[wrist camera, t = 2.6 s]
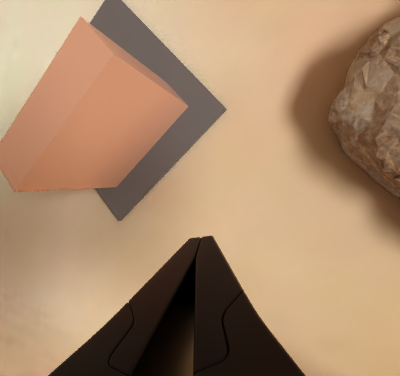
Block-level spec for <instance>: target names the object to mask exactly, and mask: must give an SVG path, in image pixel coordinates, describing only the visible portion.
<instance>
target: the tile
mask: <svg viewBox="0 0 400 376" xmlns="http://www.w3.org/2000/svg"><path fill="white" fill-rule="evenodd" d="M187 108H188V105H187V104H186V103H185V102H184V101H183V100H182V99H181V98H180V96H179V95H178V94H177V93H176V92H175V91H174V90H173V89H172V88H171V87H170V86H169V84H168V83H167V82H165V81H164V80H163V79H161V78H160V77H159V76H158V75H156V74H155V73H154V72H152V71H151V70H150V69H148V68H147V67H146V66H145V65H143V64H142V63H141V62H139V61H138V60H137V59H135V58H134V57H133V56H132V55H130V54H129V53H128V52H126V51H125V50H124V49H122V48H121V47H120V46H118V45H117V44H116V43H115V42H113V41H112V40H111V39H109V38H108V37H107V36H105V35H104V34H103V33H102V32H100V31H99V30H98V29H96V28H95V27H94V26H92V25H91V24H90V23H89V22H87V21H86V20H85V19H83V18H82V17H81V16H80V18H79V20H78V21H77V23H76V24H75V26H74V27H73V29H72V31H71V32H70V34H69V35H68V37H67V38H66V40H65V42H64V43H63V45H62V46H61V48H60V49H59V51H58V53H57V54H56V56H55V57H54V59H53V60H52V62H51V64H50V65H49V67H48V68H47V70H46V71H45V73H44V75H43V76H42V78H41V79H40V81H39V82H38V84H37V86H36V87H35V89H34V90H33V92H32V93H31V95H30V97H29V98H28V100H27V101H26V103H25V105H24V106H23V108H22V109H21V111H20V112H19V114H18V116H17V117H16V119H15V120H14V122H13V123H12V125H11V127H10V128H9V130H8V131H7V133H6V134H5V136H4V138H3V139H2V141H1V142H0V169H1V171H2V173H3V174H4V176H5V177H6V179H7V181H8V182H9V184H10V185H11V187H12V189H13V190H14V192H23V191H45V190H68V189H90V188H113V187H117V186H118V185H119V184H120V183H121V182H122V181H123V179H124V178H125V177H126V176H127V175H128V174H129V173H130V172H131V170H132V169H133V168H134V167H135V166H136V165H137V164H138V163H139V161H140V160H141V159H142V158H143V157H144V156H145V155H146V154H147V152H148V151H149V150H150V149H151V148H152V147H153V146H154V145H155V143H156V142H157V141H158V140H159V139H160V138H161V137H162V136H163V134H164V133H165V132H166V131H167V130H168V129H169V128H170V127H171V126H172V124H173V123H174V122H175V121H176V120H177V119H178V118H179V117H180V115H181V114H182V113H183V112H184V111H185V110H186V109H187Z"/></svg>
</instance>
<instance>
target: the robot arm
mask: <svg viewBox="0 0 400 376" xmlns="http://www.w3.org/2000/svg"><path fill="white" fill-rule="evenodd" d="M48 376H305V374H304V373H303V372H302V371H301V370H300V368H299V367H298V366H297V364H296V363H295V362H294V361H293V359H292V358H291V357H290V356H289V354H288V353H287V352H286V351H285V349H284V348H283V347H282V345H281V344H280V343H279V342H278V340H277V339H276V338H275V337H274V335H273V334H272V333H271V332H270V330H269V329H268V328H267V326H266V325H265V323H264V322H263V321H262V319H261V318H260V317H259V315H258V314H257V312H256V310H255V309H254V307H253V306H252V304H251V302H250V301H249V299H248V297H247V296H246V294H245V293H244V290H243V289H242V287H241V285H240V283H239V282H238V280H237V278H236V276H235V275H234V273H233V271H232V269H231V267H230V266H229V264H228V262H227V260H226V259H225V257H224V255H223V253H222V252H221V250H220V248H219V246H218V244H217V243H216V241H215V239H214V237H213V236H205V237H202V238H200V237H198V238H190V239H189V240H188V241H187V242H186V243H185V244H184V245H183V246H182V247H181V248H180V249H179V250H178V251H177V252H176V253H175V254H174V255H173V256H172V257H171V258H170V259H169V260H168V261H167V262H166V263H165V264H164V265H163V266H162V268H161V269H160V270H159V271H158V272H157V273H156V274H155V275H154V276H153V277H152V278H151V279H150V280H149V281H148V282H147V283H146V284H145V285H144V286H143V287H142V288H141V289H140V290H139V291H138V292H137V293H136V294H135V295H134V296H133V297H132V298H131V299H130V300H129V303H126V304H125V305H124V306H123V307H122V308H121V309H120V311H119V312H118V313H117V314H115V315H114V316H113V317H112V318H111V319H110V320H109V321H108V322H107V323H106V324H105V325H104V326H103V327H102V328H101V329H100V330H99V331H98V332H97V333H96V334H94V335H93V336H92V337H91V338H90V339H89V340H88V341H87V342H86V343H85V344H83V345H82V346H81V347H80V348H79V349H78V350H77V351H75V352H74V353H73V354H72V355H71V356H70V357H69V358H68V359H66V360H65V361H64V362H63V363H62V364H61V365H60V366H59V367H57V368H56V369H55V370H54V371H53V372H52V373H51V374H49V375H48Z"/></svg>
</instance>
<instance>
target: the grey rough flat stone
mask: <svg viewBox="0 0 400 376" xmlns="http://www.w3.org/2000/svg"><path fill="white" fill-rule="evenodd" d="M328 122H329V123H331V124H332V129H333V130H334V132H335V133H336V135H337V137H338V140H339V142H340V145H341V147H342V150H343V151H344V152H345V154H346V155H347V156H348V157H349V158H350V159H351V160H352V161H353V162H354V163H355V164H357V165H358V166H359V167H361V168H362V169H363V170H365V171H366V172H367V173H368V174H369V175H370V176H371V177H372V178H373V179H374V180H375V181H376V182H377V183H379V184H380V185H381V186H382V187H384V188H385V189H386V190H388V191H389V192H390V193H392V194H393V195H394V196H395V197H398V198H400V16H399V17H397V18H394V19H392V20H389V21H387V22H385V23H384V24H383V25H382V26H381V27H379V28H378V29H377V30H376V31H375V32H374V33H373V34H372V35H371V36H370V37H369V38H368V39H367V41H366V42H365V43H364V44H363V45H362V46H361V47H360V49H359V50H358V51H357V55H356V57H355V59H354V61H353V62H352V64H351V66H350V68H349V70H348V71H347V76H346V80H345V85H344V89H343V90H341V91H340V92H339V94H338V95H337V97H336V98H335V99H334V101H333V102H332V105H331V108H330V111H329V116H328Z"/></svg>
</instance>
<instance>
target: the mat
mask: <svg viewBox="0 0 400 376" xmlns="http://www.w3.org/2000/svg"><path fill="white" fill-rule="evenodd" d="M90 24H91V25H92V26H94V27H95V28H96V29H98V30H99V31H100V32H102V33H103V34H104V35H105V36H107V37H108V38H109V39H111V40H112V41H113V42H115V43H116V44H117V45H118V46H120V47H121V48H122V49H124V50H125V51H126V52H128V53H129V54H130V55H132V56H133V57H134V58H135V59H137V60H138V61H139V62H141V63H142V64H143V65H145V66H146V67H147V68H148V69H150V70H151V71H152V72H154V73H155V74H156V75H158V76H159V77H160V78H161V79H163V80H164V81H165V82H167V83H168V84H169V86H170V87H171V88H172V89H173V90H174V91H175V92H176V93H177V94H178V95H179V96H180V98H181V99H182V100H183V101H184V102H185V103H186V104H187V105H188V108H187V109H186V110H185V111H184V112H183V113H182V114H181V115H180V117H179V118H178V119H177V120H176V121H175V122H174V123H173V124H172V126H171V127H170V128H169V129H168V130H167V131H166V132H165V133H164V134H163V136H162V137H161V138H160V139H159V140H158V141H157V142H156V143H155V145H154V146H153V147H152V148H151V149H150V150H149V151H148V152H147V154H146V155H145V156H144V157H143V158H142V159H141V160H140V161H139V163H138V164H137V165H136V166H135V167H134V168H133V169H132V170H131V172H130V173H129V174H128V175H127V176H126V177H125V178H124V179H123V181H122V182H121V183H120V184H119V185H118V186H117V187H113V188H95V189H96V191H97V192H98V194H99V195H100V196H101V198H102V199H103V200H104V202H105V203H106V205H107V206H108V207H109V209H110V210H111V212H112V213H113V214H114V216H115V217H116V218H117V220H118V221H121V220H122V219H123V218H124V217H125V216H126V215H127V214H128V213H129V212H130V211H131V209H132V208H133V207H134V206H135V205H136V204H137V203H138V202H139V201H140V200H141V199H142V198H143V197H144V196H145V195H146V194H147V193H148V192H149V191H150V190H151V188H152V187H153V186H154V185H155V184H156V183H157V182H158V181H159V180H160V179H161V178H162V177H163V176H164V175H165V174H166V173H167V172H168V171H169V170H170V169H171V167H172V166H173V165H174V164H175V163H176V162H177V161H178V160H179V159H180V158H181V157H182V156H183V155H184V154H185V153H186V152H187V151H188V150H189V149H190V148H191V146H192V145H193V144H194V143H195V142H196V141H197V140H198V139H199V138H200V137H201V136H202V135H203V134H204V133H205V132H206V131H207V130H208V129H209V128H210V127H211V125H212V124H213V123H214V122H215V121H216V120H217V119H218V118H219V117H220V116H221V115H222V114H223V113H224V112H225V111H226V110H227V109H226V108H225V107H224V106H223V105H222V104H221V103H220V102H219V101H218V100H217V99H216V98H215V97H214V96H213V95H212V94H211V93H210V92H209V91H208V90H207V89H206V88H205V86H204V85H203V84H202V83H201V82H200V81H199V80H198V79H197V78H196V77H195V76H194V75H193V74H192V73H191V72H190V71H189V70H188V69H187V68H186V67H185V66H184V65H183V64H182V63H181V62H180V61H179V60H178V59H177V57H176V56H175V55H174V54H173V53H172V52H171V51H170V50H169V49H168V48H167V47H166V46H165V45H164V44H163V43H162V42H161V41H160V40H159V39H158V38H157V37H156V36H155V35H154V34H153V33H152V32H151V31H150V30H149V29H148V27H147V26H146V25H145V24H144V23H143V22H142V21H141V20H140V19H139V18H138V17H137V16H136V15H135V14H134V13H133V12H132V11H131V10H130V9H129V8H128V7H127V6H126V5H125V4H124V3H123V2H122V1H121V0H105V1H104V2H103V4H102V5H101V7H100V9H99V10H98V12H97V13H96V15H95V16H94V18H93V19H92V21H91V22H90Z"/></svg>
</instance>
